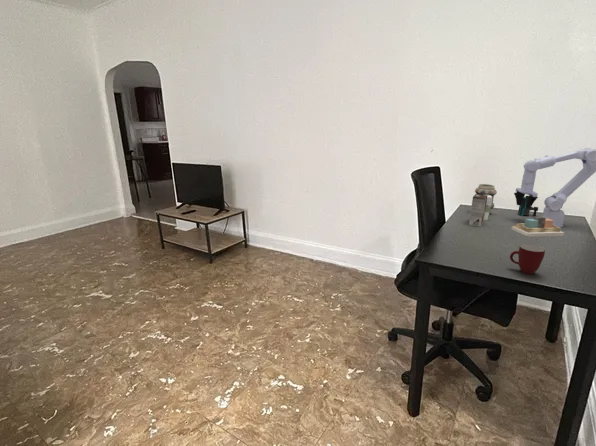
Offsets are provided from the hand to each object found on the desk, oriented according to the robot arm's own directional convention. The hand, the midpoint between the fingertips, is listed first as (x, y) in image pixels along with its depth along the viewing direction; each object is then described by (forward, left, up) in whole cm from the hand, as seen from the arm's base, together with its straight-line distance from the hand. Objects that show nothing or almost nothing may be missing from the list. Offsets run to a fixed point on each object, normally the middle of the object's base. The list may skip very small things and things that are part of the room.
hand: (523, 206), depth 192 cm
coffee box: (+26, 0, -10) cm, 28 cm away
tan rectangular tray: (+4, +18, -7) cm, 20 cm away
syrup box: (+18, -8, -10) cm, 22 cm away
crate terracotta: (0, +18, -6) cm, 19 cm away
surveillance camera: (-14, -13, -10) cm, 21 cm away
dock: (+4, +18, -9) cm, 21 cm away
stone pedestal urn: (+10, -21, -10) cm, 25 cm away
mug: (+43, +62, -10) cm, 76 cm away
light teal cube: (+8, +18, -6) cm, 21 cm away
